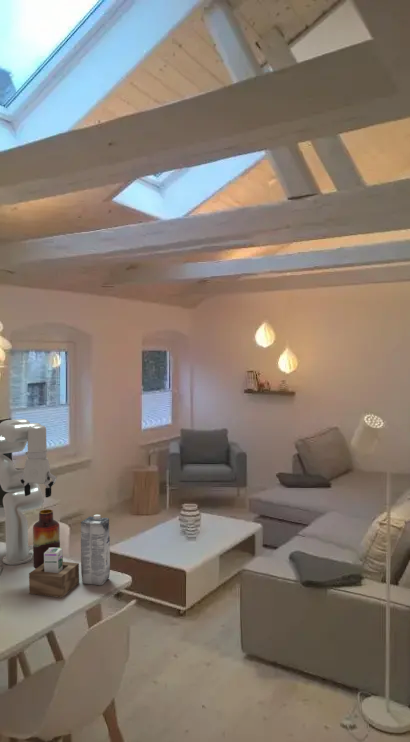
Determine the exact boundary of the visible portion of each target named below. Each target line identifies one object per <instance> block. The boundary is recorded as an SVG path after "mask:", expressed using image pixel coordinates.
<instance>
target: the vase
mask: <svg viewBox="0 0 410 742" xmlns="http://www.w3.org/2000/svg"><path fill="white" fill-rule="evenodd" d="M60 527H61V526H60V523H59V522H58V520H56V519H54V510H53V509H50V508H49V509H48V508H47V509H42V510H39V512H38V521H37V522H35V523H33V526H32V545H33V548H32V551H33V552H32V561H33V568H34V570H35V569H36V568H38V567H39V566H41V565H42V564H43V563H44V553H45V552H46V551H47V550H48V549H49V548H54V547H57V548H61V532H60V531H61V530H60Z"/></svg>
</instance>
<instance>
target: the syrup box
mask: <svg viewBox="0 0 410 742" xmlns="http://www.w3.org/2000/svg"><path fill="white" fill-rule="evenodd" d="M63 555H64V554H63V548H62V547H60V548H57V547H54V548H49V549H48V550H47V551H46V552H45V553H44V572H52V573H59V572H61V571H62V570H63V562H64V560H63V559H64V558H63V557H64V556H63Z"/></svg>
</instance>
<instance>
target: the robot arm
mask: <svg viewBox="0 0 410 742" xmlns="http://www.w3.org/2000/svg"><path fill="white" fill-rule="evenodd" d="M26 446H27V451H26V452H25V454H24V455H25V456H27V458H26V459H25V461H24V462H25V463H24V468H21V469H17V468H16V466H15V463H14V461H13V460H12V459H11V458H9V457H8V456H6V455H4V454H11V453H19V452H22V451H23V450H24V449H25V448H26ZM47 455H48V452H47V427H46V426H45V425H43V424H42V425H41V423H38V422H30V421H29V420H28V419H27V418H17V419H7V420H3V421H1V422H0V487H1V490H2V491H3V492H6V493H5V494H4V496H3V498H2V505H3V510H4V516H5V517H4V518H5V519H4V520H5V553H6V554H5V556H3V558H2V563H3V564H4V565H5V564H6V565H9V566H10V565H11V566H16V565H22V564H26V563H28V562H30V561H31V560H33V554H31V553H30V551H31V550H33V544H30V545H29V525H28V524H29V521H28V518H27V516H25V514H24V513H23V512H25V511H30V510H34V509H37V508H38V509H39V508H40V507H42V506H43V504H44V497H45V499H46V498H50V497H51V496H52V487H53V486H54V484H56V481H57V478H58V477H57V476H56V475H54V474H53V473H51V467H50V461H49V458H48V456H47ZM42 484H44V486H45V489H44V491H45V496H44V495H43V492H42V488H41V486H40V485H42Z"/></svg>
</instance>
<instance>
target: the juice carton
mask: <svg viewBox="0 0 410 742" xmlns="http://www.w3.org/2000/svg"><path fill="white" fill-rule="evenodd" d="M101 516H102V515H101V514H94V515H93V516H88V517H87V518H85V519H84V520H81V522H80V565H81V566H80V571H81V572H80V573H81V580H82V584H87V585H96V586H102V585H104V583H106V581H108V580H109V578H110V574H111V573H110V572H111V559H110V558H111V555H110V552H111V549H110V545H111V543H110V542H111V541H110V538H111V537H110V534H111V533H110V518H108V517H101Z"/></svg>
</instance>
